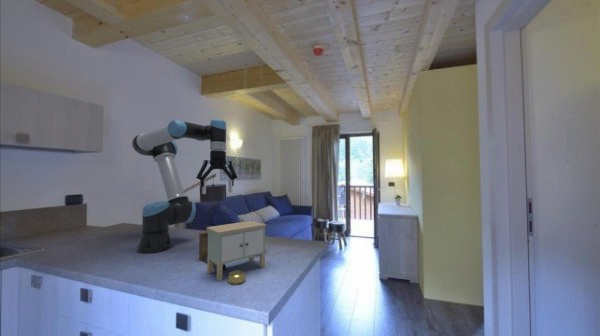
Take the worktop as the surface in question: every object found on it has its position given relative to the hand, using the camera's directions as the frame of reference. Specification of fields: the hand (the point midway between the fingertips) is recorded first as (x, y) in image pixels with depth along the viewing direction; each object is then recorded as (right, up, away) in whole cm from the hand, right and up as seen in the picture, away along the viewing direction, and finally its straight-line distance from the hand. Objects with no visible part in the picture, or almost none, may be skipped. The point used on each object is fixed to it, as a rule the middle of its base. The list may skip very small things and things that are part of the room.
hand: (217, 193), depth 121 cm
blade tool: (+4, -28, -18) cm, 34 cm away
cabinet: (+16, -28, -24) cm, 40 cm away
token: (+19, -28, -34) cm, 48 cm away
